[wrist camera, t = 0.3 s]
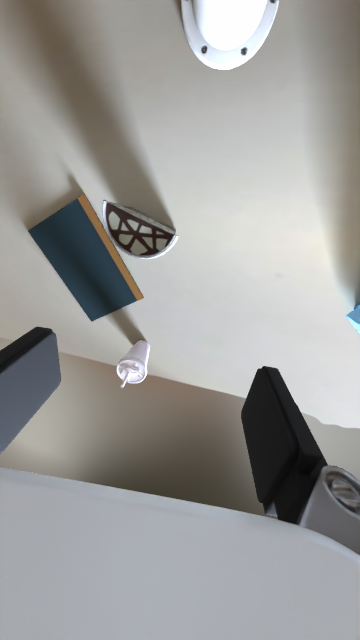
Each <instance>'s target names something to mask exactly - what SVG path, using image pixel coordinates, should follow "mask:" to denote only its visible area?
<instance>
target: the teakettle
mask: <svg viewBox="0 0 360 640" xmlns="http://www.w3.org/2000/svg"><path fill="white" fill-rule="evenodd" d="M346 316H347V318H348V319H349V320H350V322H351V323H352V324H353V326H354V327H355V328H356V329H357V331H358V332H359V333H360V304H358V305H357V306H356V307H355V309H354V311H352V312H350V313H349V314H347V315H346Z"/></svg>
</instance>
